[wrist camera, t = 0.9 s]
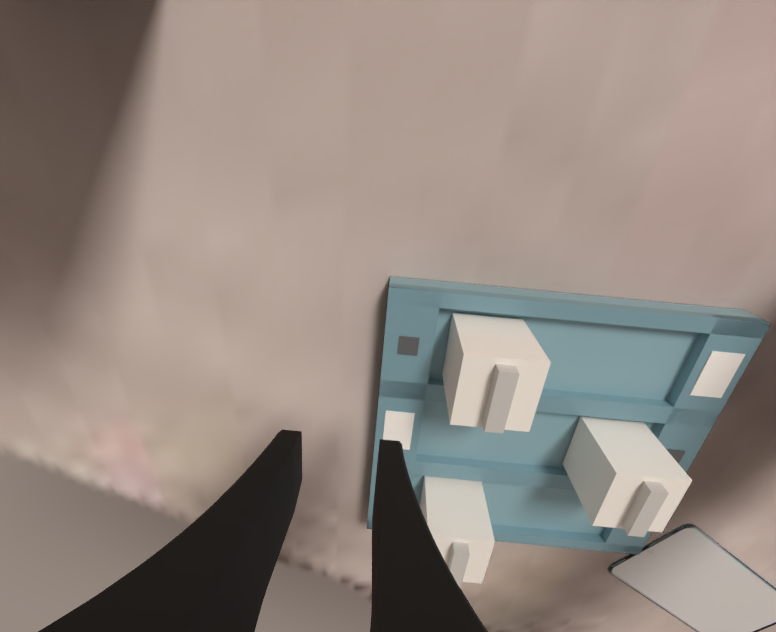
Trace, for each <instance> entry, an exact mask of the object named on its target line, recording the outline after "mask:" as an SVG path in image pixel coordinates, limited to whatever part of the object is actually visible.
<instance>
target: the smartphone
mask: <svg viewBox="0 0 776 632" xmlns="http://www.w3.org/2000/svg"><path fill="white" fill-rule="evenodd" d="M608 570H609V572H610V573H611V574H612V575H613V576H615V577H616V578H618V579H619V580H621V581H622V582H624V583H625V584H627V585H628V586H630V587H631V588H633V589H634V590H636V591H637V592H639V593H640V594H642V595H643V596H645V597H646V598H648V599H649V600H651V601H652V602H654V603H655V604H657V605H658V606H660V607H661V608H663V609H664V610H666V611H667V612H669V613H670V614H672V615H673V616H675V617H676V618H678V619H679V620H681V621H682V622H684V623H685V624H687V625H688V626H690V627H691V628H693V629H694V630H696V631H697V632H758V631H760V630H763V629H765V628H768V627H770V626H773V625H775V624H776V588H774V587H773V586H772V585H770V584H769V583H768V582H767V581H765V580H764V579H763V578H761V577H760V576H759V575H758V574H756V573H755V572H754V571H753V570H751V569H750V568H749V567H747V566H746V565H745V564H744V563H742V562H741V561H740V560H738V559H737V558H736V557H735V556H733V555H732V554H731V553H729V552H728V551H727V550H726V549H724V548H723V547H722V546H720V545H719V544H718V543H717V542H715V541H714V540H713V539H711V538H710V537H709V536H708V535H706V534H705V533H704V532H702V531H701V530H700V529H699V528H697V527H696V526H695V525H692V524H685V525H682V526H680V527H678V528H676V529H675V530H673V531H671V532H669V533H667V534H665V535H664V536H662V537H660V538H658V539H656V540H655V541H653V542H651V543H649V544H647V545H646V546H644V547H643V549H642V551H641V553H640V554H639V555H636V554H629V555H628V556H626V557H624V558H622V559H620V560H619V561H617V562H615V563H613V564H612V565H610V566H609V568H608Z"/></svg>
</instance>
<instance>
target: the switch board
mask: <svg viewBox="0 0 776 632" xmlns="http://www.w3.org/2000/svg"><path fill="white" fill-rule="evenodd" d="M453 313H461V314H472V315H482V316H493V317H503V318H514V319H523V320H524V321H525V323H526V325H527V326H528V328H529V329H530V331H531V332H532V334H533V335H534V337H535V338H536V340H537V342H538V343H539V345H540V346H541V348H542V349H543V351H544V352H545V354H546V355H547V357H548V358H549V360H550V362H551V364H550V367H549V371H548V374H547V377H546V380H545V383H544V387H543V390H542V393H541V396H540V399H539V403H538V406H537V409H536V412H535V415H534V419H533V422H532V425H531V428H530V431H529V432H523V431H513V430H504V433H493V432H484V428H481V427H471V426H460V425H450V422H449V415H448V409H447V402H446V396H445V389H444V383H443V376H442V371H443V365H444V360H445V354H446V348H447V342H448V337H449V331H450V325H451V319H452V314H453ZM770 325H771V323H769V322H767V321H765V320H763V319H761V318H759V317H757V316H755V315H753V314H751V313H749V312H747V311H745V310H740V309H730V308H719V307H709V306H698V305H688V304H677V303H667V302H656V301H646V300H635V299H625V298H614V297H604V296H593V295H582V294H572V293H561V292H551V291H540V290H530V289H519V288H509V287H498V286H488V285H477V284H467V283H456V282H446V281H435V280H425V279H414V278H404V277H393V276H390V282H389V292H388V303H387V313H386V324H385V335H384V346H383V357H382V368H381V378H380V389H379V400H378V411H377V422H376V433H375V443H374V454H373V465H372V476H371V487H370V498H369V508H368V519H367V529H372V515H373V504H374V493H375V482H376V472H377V462H378V452H379V442H380V439H384V440H394V441H400V442H401V444H402V448H403V454H404V459H405V463H406V467H407V470H408V474H409V477H410V480H411V484H412V487H413V489H414V492H415V495H416V498H417V500H418V503H419V504H420V498H421V492H422V487H423V481H424V476H430V477H441V478H451V479H462V480H472V481H482V486H483V490H484V495H485V499H486V504H487V508H488V513H489V517H490V522H491V526H492V531H493V535H494V540H495V541H501V542H511V543H522V544H532V545H542V546H553V547H563V548H574V549H584V550H594V551H605V552H615V553H626V554H636V555H639V554H640V553H641V551H642V549H643V547H644V546H645V544H646V542H647V540H648V539H649V537H650V535H651V533H652V532H653V531H647V533H646V535H645V537H637V536H628V535H627V534H626V532H625V530H624V529H622V528H611V527H601V526H592V524H591V522H590V520H589V518H588V516H587V514H586V512H585V509H584V507H583V505H582V503H581V501H580V499H579V497H578V495H577V493H576V491H575V489H574V487H573V485H572V482H571V480H570V478H569V476H568V474H567V472H566V470H565V468H564V466H563V461H564V459H565V456H566V453H567V451H568V448H569V446H570V443H571V440H572V438H573V435H574V432H575V430H576V427H577V424H578V422H579V419H580V416H585V417H596V418H606V419H617V420H627V421H637V422H644V423H645V424H646V426H647V427H648V428H649V429H650V430H651V432H652V433H653V434H654V435H655V436H656V438H657V439H658V440H659V441H660V442H661V444H662V445H663V446H664V447H665V448H666V450H667V451H668V452H669V453H670V454H671V456H672V457H673V458H674V459H675V460H676V462H677V463H678V464H679V465H680V466H681V467H682V469H683V470H684V471H685V472H687V470H688V469H689V467H690V465H691V463H692V462H693V460H694V458H695V456H696V455H697V453H698V451H699V449H700V448H701V446H702V444H703V442H704V441H705V439H706V437H707V435H708V434H709V432H710V430H711V428H712V427H713V425H714V423H715V421H716V420H717V418H718V416H719V414H720V413H721V411H722V409H723V407H724V406H725V404H726V402H727V400H728V399H729V397H730V395H731V393H732V392H733V390H734V388H735V386H736V385H737V383H738V381H739V379H740V378H741V376H742V374H743V372H744V371H745V369H746V367H747V365H748V364H749V362H750V360H751V358H752V357H753V355H754V353H755V351H756V350H757V348H758V346H759V344H760V343H761V341H762V339H763V337H764V336H765V334H766V332H767V330H768V329H769V327H770Z"/></svg>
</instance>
